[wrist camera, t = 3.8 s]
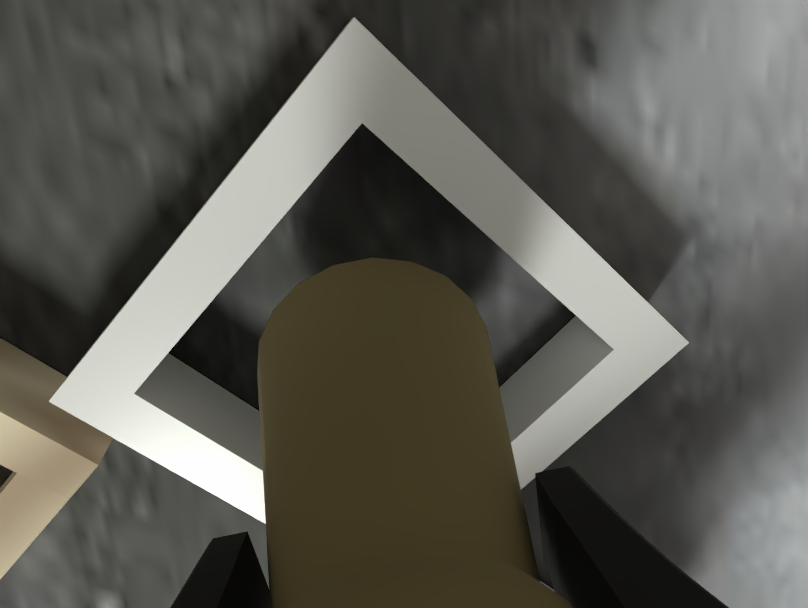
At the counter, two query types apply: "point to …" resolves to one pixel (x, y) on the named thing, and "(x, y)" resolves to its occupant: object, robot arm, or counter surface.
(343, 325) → the cork
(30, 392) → the wooden square frame
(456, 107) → the counter surface
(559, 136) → the counter surface
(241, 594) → the robot arm
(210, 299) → the white picture frame
